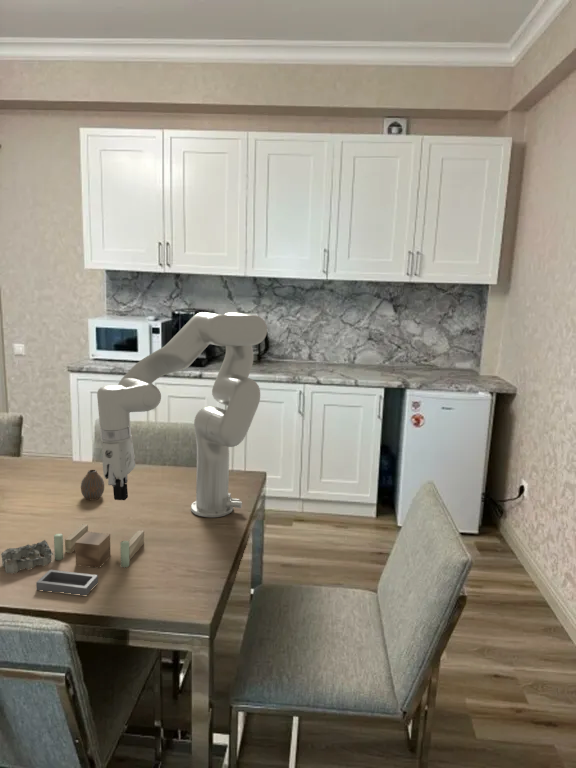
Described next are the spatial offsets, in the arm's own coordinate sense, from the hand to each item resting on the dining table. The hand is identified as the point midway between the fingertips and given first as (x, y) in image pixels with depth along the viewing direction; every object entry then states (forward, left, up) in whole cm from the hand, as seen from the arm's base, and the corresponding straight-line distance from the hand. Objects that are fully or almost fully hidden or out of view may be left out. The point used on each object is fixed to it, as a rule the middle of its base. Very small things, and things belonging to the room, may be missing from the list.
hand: (121, 498), depth 153 cm
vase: (+19, -22, -11) cm, 31 cm away
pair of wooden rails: (+1, +8, -10) cm, 13 cm away
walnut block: (+1, +14, -11) cm, 18 cm away
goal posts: (+1, +15, -10) cm, 18 cm away
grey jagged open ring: (+16, +19, -11) cm, 27 cm away
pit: (+1, +27, -10) cm, 29 cm away
